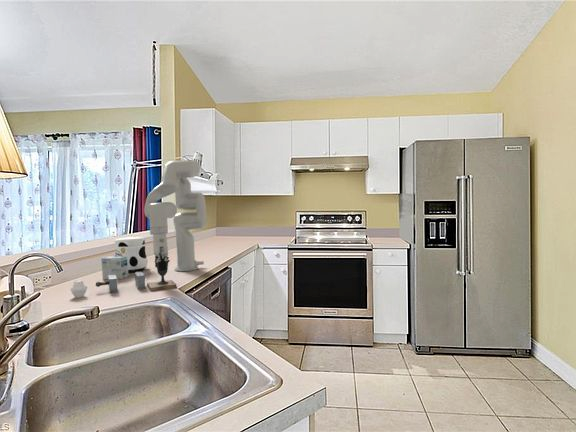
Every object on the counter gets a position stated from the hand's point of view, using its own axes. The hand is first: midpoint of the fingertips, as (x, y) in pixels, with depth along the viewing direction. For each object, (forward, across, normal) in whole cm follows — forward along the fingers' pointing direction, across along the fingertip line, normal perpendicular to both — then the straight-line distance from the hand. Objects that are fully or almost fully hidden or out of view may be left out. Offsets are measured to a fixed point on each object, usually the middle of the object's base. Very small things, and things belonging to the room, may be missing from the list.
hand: (160, 268), depth 172 cm
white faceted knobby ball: (+8, +2, +33) cm, 34 cm away
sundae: (+7, 0, -1) cm, 7 cm away
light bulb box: (+9, +36, +17) cm, 41 cm away
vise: (+8, +6, +17) cm, 20 cm away
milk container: (+9, +52, +8) cm, 53 cm away
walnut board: (+8, 0, 0) cm, 8 cm away
